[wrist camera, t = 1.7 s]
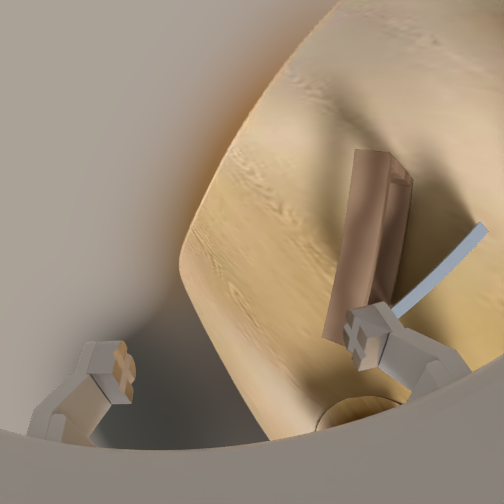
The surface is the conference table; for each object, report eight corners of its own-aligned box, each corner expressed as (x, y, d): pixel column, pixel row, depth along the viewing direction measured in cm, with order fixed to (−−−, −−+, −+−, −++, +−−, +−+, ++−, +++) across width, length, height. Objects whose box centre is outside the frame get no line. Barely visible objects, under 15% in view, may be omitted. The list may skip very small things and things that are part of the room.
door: (481, 233, 35) (488, 231, 26) (395, 315, 45) (376, 336, 36) (474, 225, 36) (480, 221, 27) (390, 308, 46) (369, 326, 37)
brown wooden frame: (413, 179, 43) (389, 152, 30) (387, 315, 47) (351, 348, 34) (389, 176, 46) (354, 149, 32) (365, 308, 50) (321, 337, 36)
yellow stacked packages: (309, 396, 58) (261, 434, 45) (423, 389, 42) (402, 442, 29) (326, 478, 54) (287, 520, 42) (425, 482, 39) (401, 538, 26)
